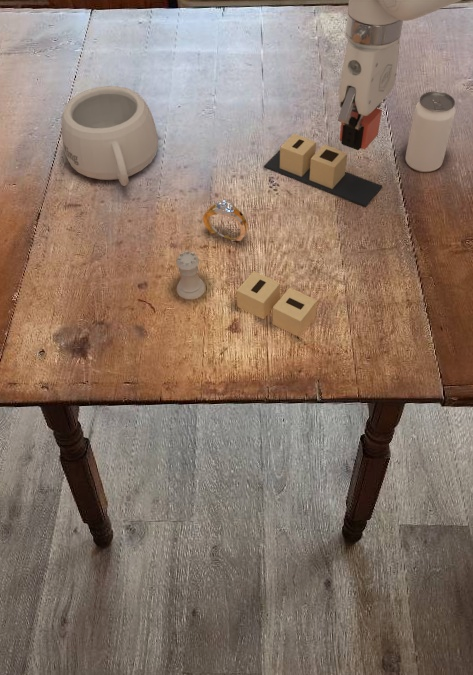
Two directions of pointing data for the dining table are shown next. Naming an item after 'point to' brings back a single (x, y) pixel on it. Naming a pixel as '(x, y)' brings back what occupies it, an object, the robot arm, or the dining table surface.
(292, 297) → the slotted blocks
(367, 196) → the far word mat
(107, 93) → the mug
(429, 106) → the can
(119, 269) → the dining table surface
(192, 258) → the rook chess piece
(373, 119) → the red block
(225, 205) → the ring
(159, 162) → the dining table surface
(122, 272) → the dining table surface
